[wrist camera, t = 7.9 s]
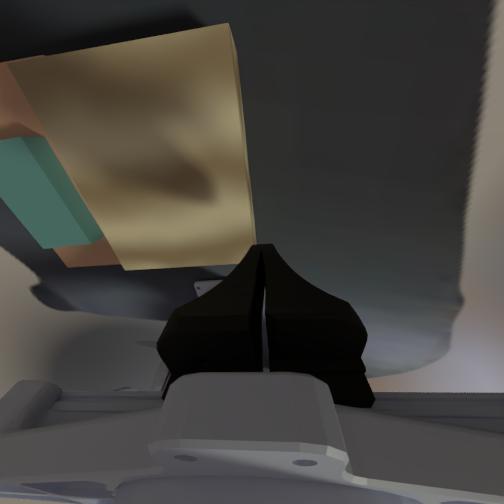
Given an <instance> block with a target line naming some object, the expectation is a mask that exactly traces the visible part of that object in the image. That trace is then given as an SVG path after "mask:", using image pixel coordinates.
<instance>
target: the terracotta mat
mask: <svg viewBox="0 0 504 504" xmlns="http://www.w3.org/2000/svg"><path fill="white" fill-rule="evenodd" d="M40 57H45V55H39V56H34V57H28V58H23V59H18V60H12V61H7V62H1V63H0V140H5V139H10V138H15V137H45V138H46V140H47V141H48V143H49V145H50V146H51V148H52V150H53V151H54V153H55V154H56V156H57V158H58V159H59V161H60V163H61V164H62V166H63V168H64V169H65V171H66V173H67V174H68V176H69V178H70V179H71V181H72V183H73V184H74V186H75V188H76V189H77V191H78V193H79V194H80V196H81V198H82V199H83V201H84V203H85V204H86V206H87V207H88V205H87V203H86V202H85V200H84V198H83V196H82V195H81V193H80V191H79V189H78V188H77V186H76V184H75V182H74V181H73V179H72V177H71V175H70V174H69V172H68V170H67V168H66V167H65V165H64V163H63V161H62V160H61V158H60V156H59V154H58V153H57V151H56V149H55V147H54V146H53V144H52V142H51V140H50V139H49V137H48V135H47V134H46V132H45V130H44V128H43V127H42V125H41V123H40V121H39V120H38V118H37V116H36V114H35V113H34V111H33V109H32V107H31V106H30V104H29V102H28V100H27V99H26V97H25V95H24V93H23V92H22V90H21V88H20V86H19V85H18V83H17V81H16V79H15V78H14V76H13V74H12V72H11V71H10V69H9V67H8V65H7V63H12V62H18V61H23V60H29V59H34V58H40ZM88 209H89V207H88ZM89 211H90V212H91V210H90V209H89ZM91 214H92V212H91ZM92 216H93V214H92ZM93 217H94V216H93ZM94 219H95V217H94ZM95 221H96V219H95ZM96 222H97V221H96ZM97 224H98V223H97ZM98 226H99V224H98ZM99 227H100V226H99ZM100 229H101V228H100ZM101 231H102V230H101ZM102 232H103V231H102ZM103 234H104V233H103ZM53 249H54V250H55V252H56V253H57V254H58V256H59V257H60V258H61V260H62V261H63V262H64V264H65V265H66V266H67V267H68V268H70V267H85V266H101V265H116V264H121V263H120V261H119V259H118V258H117V256H116V254H115V252H114V251H113V249H112V247H111V245H110V244H109V242H108V240H107V238H106V237H105V235H104V236H103V237H102V238H100V239H98V240H97V241H95V242H94V243H92V244H86V245H76V246H67V247H57V248H53Z"/></svg>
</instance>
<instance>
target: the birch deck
mask: <svg viewBox="0 0 504 504" xmlns="http://www.w3.org/2000/svg"><path fill="white" fill-rule="evenodd" d="M7 65H8V67H9V69H10V71H11V72H12V74H13V76H14V78H15V79H16V81H17V83H18V85H19V86H20V88H21V90H22V92H23V93H24V95H25V97H26V99H27V100H28V102H29V104H30V106H31V107H32V109H33V111H34V113H35V114H36V116H37V118H38V120H39V121H40V123H41V125H42V127H43V128H44V130H45V132H46V134H47V135H48V137H49V139H50V140H51V142H52V144H53V146H54V147H55V149H56V151H57V153H58V154H59V156H60V158H61V160H62V161H63V163H64V165H65V167H66V168H67V170H68V172H69V174H70V175H71V177H72V179H73V181H74V182H75V184H76V186H77V188H78V189H79V191H80V193H81V195H82V196H83V198H84V200H85V202H86V203H87V205H88V207H89V209H90V210H91V212H92V214H93V216H94V217H95V219H96V221H97V223H98V224H99V226H100V228H101V230H102V231H103V233H104V235H105V237H106V238H107V240H108V242H109V244H110V245H111V247H112V249H113V251H114V252H115V254H116V256H117V258H118V259H119V261H120V263H121V265H122V266H123V268H124V270H142V269H158V268H175V267H191V266H208V265H224V264H239V263H240V262H241V260H242V259H243V257H244V256H245V255H246V253H247V252H248V250H249V248H250V247H251V246H252V245H257V242H256V233H255V223H254V213H253V204H252V194H251V184H250V175H249V165H248V155H247V146H246V136H245V126H244V117H243V107H242V97H241V88H240V78H239V68H238V59H237V51H236V48H235V44H234V41H233V37H232V34H231V30H230V26H229V23H225V24H219V25H214V26H208V27H203V28H198V29H192V30H187V31H181V32H176V33H170V34H165V35H159V36H154V37H149V38H143V39H138V40H132V41H127V42H121V43H116V44H110V45H105V46H100V47H94V48H89V49H83V50H78V51H72V52H67V53H61V54H56V55H50V56H45V57H40V58H34V59H29V60H23V61H18V62H12V63H7Z"/></svg>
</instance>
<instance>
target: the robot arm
mask: <svg viewBox="0 0 504 504" xmlns="http://www.w3.org/2000/svg"><path fill="white" fill-rule="evenodd" d="M194 287H195V290H196V293H197V295H198V298H196V299H194V300H193V301H191V302H189V303H187V304H185V305H183V306H181V307H179V308H177V309H175V310H174V312H173V313H172V315H171V316H170V318H169V320H168V322H167V324H166V326H165V328H164V330H163V332H162V334H161V336H160V338H159V340H158V341H157V351H158V353H159V355H160V357H161V359H162V360H163V361H162V362H161V363H160V364H159V366H158V368H157V370H156V372H155V374H154V376H153V378H152V380H151V382H150V384H149V386H148V389H147V391H62V389H61V388H60V387H59V386H58V385H56V384H55V383H53V382H49V381H44V380H26V381H25V380H23V381H19V382H17V383H16V384H15V385H14V386H13V387H12V388H11V389H10V391H8V392H7V393H6V394H5V395H4V396H3V397H2V398H1V400H0V497H4V498H17V499H29V500H41V501H51V502H61V503H71V504H504V393H416V392H415V393H414V392H408V393H406V392H399V393H398V392H372V390H371V387H370V385H369V383H368V381H367V378H366V376H365V374H364V373H365V372H366V368H365V366H364V363H363V361H362V359H361V356H362V353H363V351H364V348H365V345H366V342H367V336H368V334H367V331H366V328H365V327H364V325H363V323H362V321H361V319H360V318H359V316H358V315H357V313H356V312H355V311H354V309H353V308H352V307H351V305H350V304H349V303H348V302H346V301H344V300H342V299H339V298H337V297H335V296H332V295H330V294H328V293H326V292H324V291H322V290H321V289H319V288H317V287H315V286H314V285H312V284H310V283H309V282H307V281H306V280H304V279H303V278H302V277H300V276H299V275H298V274H297V273H296V272H295V271H293V270H292V269H291V268H290V267H289V266H288V264H287V263H286V262H285V261H284V260H283V259H282V257H281V256H280V255H279V253H278V252H277V250H276V249H275V247H274V245H273V244H258V245H252V246H251V247H250V248H249V250H248V252H247V253H246V255H245V256H244V257H243V259H242V260H241V262H240V263H239V264H238V265H237V266H236V268H235V269H234V270H233V271H232V272H231V273H230V274H229V275H228V276H227V277H226V278H225V279H224V280H208V281H196V282H195V283H194ZM198 287H200V288H198ZM264 288H265V290H266V300H265V316H266V327H267V337H268V347H269V367H270V372H263V345H262V312H263V300H264Z"/></svg>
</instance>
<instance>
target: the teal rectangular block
mask: <svg viewBox="0 0 504 504" xmlns="http://www.w3.org/2000/svg"><path fill="white" fill-rule="evenodd" d="M0 197H1V198H2V200H3V201H4V202H5V203H6V204H7V206H8V207H9V208H10V209H11V210H12V212H13V213H14V214H15V215H16V216H17V218H18V219H19V220H20V221H21V222H22V224H23V225H24V226H25V227H26V229H27V230H28V231H29V232H30V233H31V235H32V236H33V237H34V238H35V239H36V241H37V242H38V243H39V244H40V245H41V247H42V248H43V249H48V248H57V247H67V246H76V245H86V244H92V243H94V242H95V241H97V240H98V239H100V238H102V237H103V236H104V234H103V232H102V231H101V229H100V227H99V226H98V224H97V222H96V221H95V219H94V217H93V216H92V214H91V212H90V211H89V209H88V207H87V206H86V204H85V203H84V201H83V199H82V198H81V196H80V194H79V193H78V191H77V189H76V188H75V186H74V184H73V183H72V181H71V179H70V178H69V176H68V174H67V173H66V171H65V169H64V168H63V166H62V164H61V163H60V161H59V159H58V158H57V156H56V154H55V153H54V151H53V150H52V148H51V146H50V145H49V143H48V141H47V140H46V138H45V137H15V138H10V139H5V140H0Z"/></svg>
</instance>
